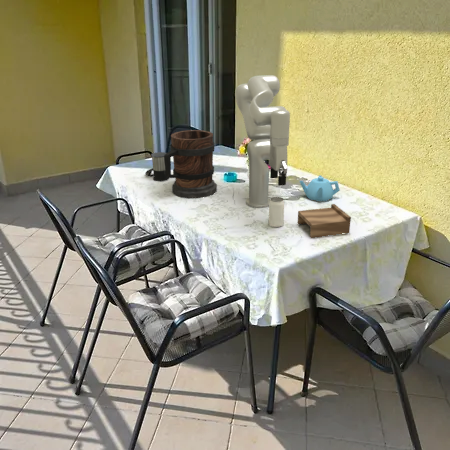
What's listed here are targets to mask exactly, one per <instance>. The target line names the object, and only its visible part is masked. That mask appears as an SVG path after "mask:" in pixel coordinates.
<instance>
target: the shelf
mask: <svg viewBox="0 0 450 450" xmlns="http://www.w3.org/2000/svg"><path fill="white" fill-rule="evenodd" d="M351 219H352V217H351V215H349V214H348V213H347V212H346V211H344V210H343V209H341V207H339V206H338V205H336V203H332V204H331V205H330V207H324V208H323V207H322V208H315V209H304V210H303V209H302V210H297V223H298V224H302V225H308V226H309V227H310V230H309V238H311V239H315V237H317V238H322V236H325V237H329V236H328V235H333V236H337V235H336V234H342V233H349V234H350V230H351V229H350V228H351ZM298 224H297V225H298ZM342 235H343V234H342Z"/></svg>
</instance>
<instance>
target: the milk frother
mask: <svg viewBox="0 0 450 450" xmlns="http://www.w3.org/2000/svg"><path fill="white" fill-rule="evenodd" d="M166 153H167V152H165V151H162V152H161V151H160V152H159V151H158V152H153V153H151V162H152V168H150V169H148V170H146V171H145V176H146V177H153V181H155V182H166V181H168V180H169V179H170V178H168V177H166V173H165V163H164V155H165V154H166ZM171 158H172V157H170V167H171V168H172V161H171ZM152 172H153V174H152Z"/></svg>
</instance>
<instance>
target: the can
mask: <svg viewBox="0 0 450 450" xmlns="http://www.w3.org/2000/svg"><path fill="white" fill-rule="evenodd" d="M269 199H270V202H269V206H268V225H269V226H270V227H273V228H280V226H281V227H282V226H284V217H285V201H284V200H285V199H284V198H283V197H281V196H272V197H270V198H269Z"/></svg>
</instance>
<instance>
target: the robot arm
mask: <svg viewBox="0 0 450 450" xmlns="http://www.w3.org/2000/svg"><path fill="white" fill-rule="evenodd" d="M280 88H281V83H280V80H279V78H278V77H277V76H276V75H274V74H273V75H272V74H267V75H266V74H265V75H254V76H251V77H250V78H249V79H248V81H247V83H241V84H239V85H238V86H236V87H235V91H234V92H235V93H234V97H235V101H236V105H237V107H238V109H239V111H240V113H241V115H242V119H243V123H244V128H245V131H246V135H247V137H248V139H250V140H251V141H250V142H248V144H247V148H246V149H247V156H248V198H247V199H245V204H246V206H248V207H250V208H256V209H257V208H258V209H259V208H261V207H262V208H266V207H269V202H270V199H271V198H269V189H270V188H269V184H270V183H269V182H270V180H269V179H277V180H278V181H277V185H278V186H279V187H280V186H286V185H287V175H288V174H287V173H288V146H289V142H290V141H289V140H290V124H291V123H290V122H291V121H290V120H291V111H289V110H287V109H286V107H285V106H282V105H279V106H278V105H276V106H275V105H274V106H273V105H272V106H270V105H271V104H272V102H273V100H274V97H275V96H277V94H278V93H279V91H280ZM267 160H268V164H267V163H266V162H265V161H267ZM269 166H270V167H269ZM269 168H270V169H269Z"/></svg>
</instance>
